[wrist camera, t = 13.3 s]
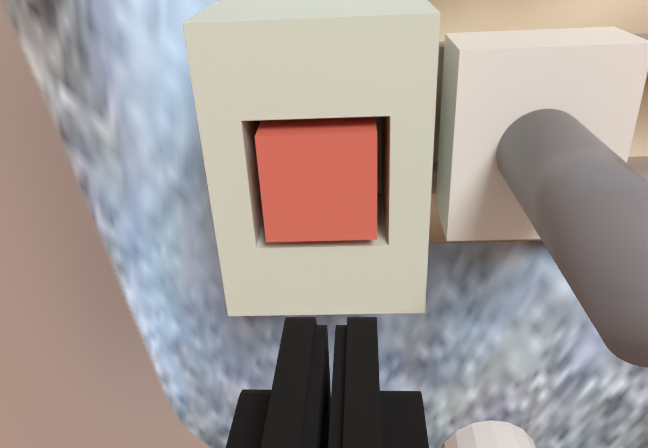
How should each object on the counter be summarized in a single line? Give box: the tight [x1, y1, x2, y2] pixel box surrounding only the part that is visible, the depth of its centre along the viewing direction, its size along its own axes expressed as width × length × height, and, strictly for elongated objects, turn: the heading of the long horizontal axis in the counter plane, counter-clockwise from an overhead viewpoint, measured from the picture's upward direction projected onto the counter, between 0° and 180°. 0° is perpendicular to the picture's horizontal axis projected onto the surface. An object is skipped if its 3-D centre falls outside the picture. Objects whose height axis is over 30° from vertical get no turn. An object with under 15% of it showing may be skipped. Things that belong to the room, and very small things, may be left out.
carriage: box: [435, 26, 648, 367], centre depth 17 cm, size 7×6×12 cm
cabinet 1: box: [183, 0, 440, 316], centre depth 21 cm, size 10×7×8 cm
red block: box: [255, 116, 377, 242], centre depth 19 cm, size 4×4×4 cm
